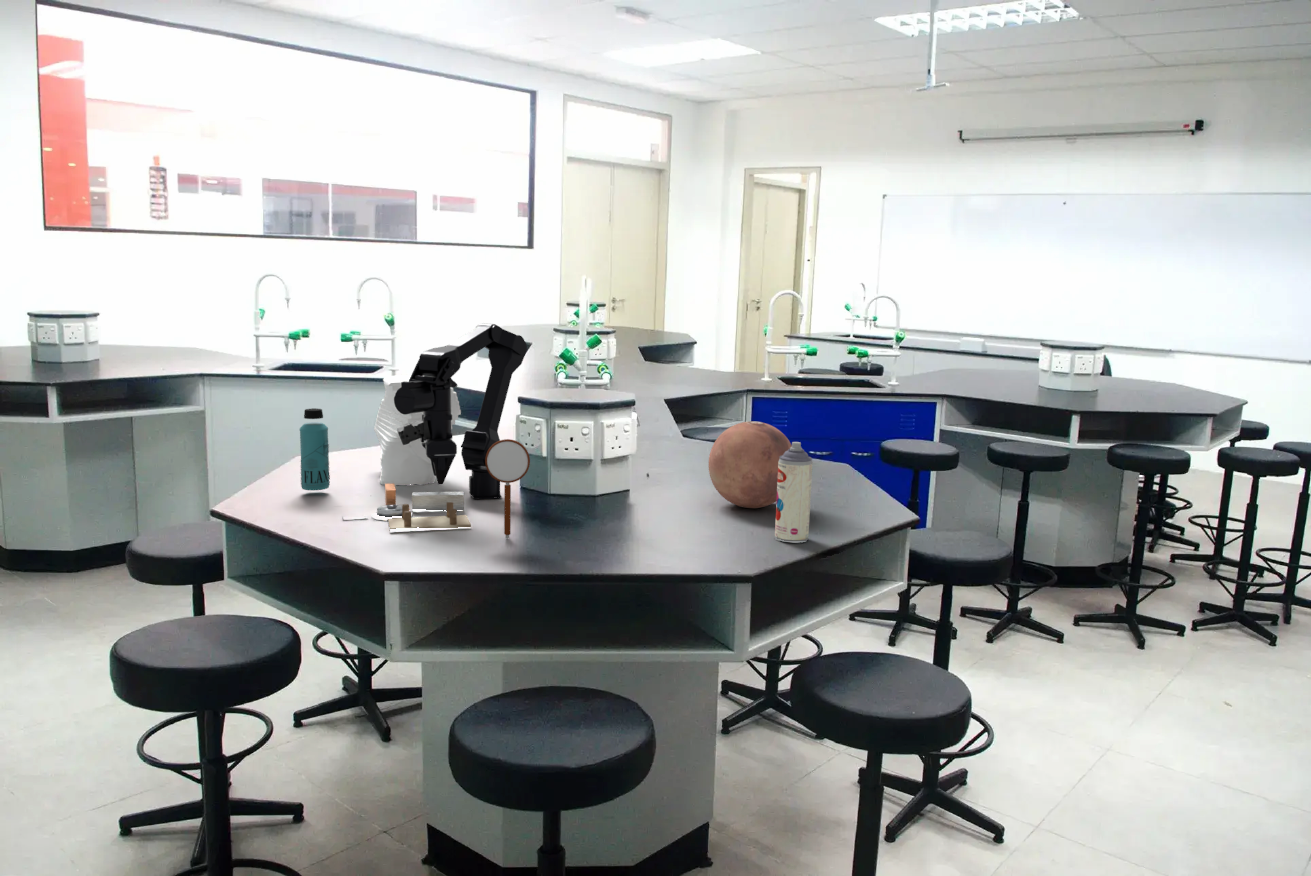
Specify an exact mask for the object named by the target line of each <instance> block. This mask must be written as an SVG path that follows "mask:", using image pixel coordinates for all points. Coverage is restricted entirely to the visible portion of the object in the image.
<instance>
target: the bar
mask: <svg viewBox="0 0 1311 876" xmlns="http://www.w3.org/2000/svg"><path fill="white" fill-rule="evenodd" d="M464 493H465V491H428V492H427V491H423V492H422V491H421V492H420V491H419V492H418V491H415V492H413V491H412V494H411V510H412V509H426V510H443V511H444V510H446V511H447V502H453V509H456V510H464V511H465V505H464V504H465V502H464V501H465V498H464V497H465V496H464V495H465V494H464Z"/></svg>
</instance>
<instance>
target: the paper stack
mask: <svg viewBox="0 0 1311 876" xmlns="http://www.w3.org/2000/svg"><path fill="white" fill-rule="evenodd" d="M411 375H412V374H411ZM411 375H410V374H409V375H408V374H406V375H402V374H401V375H390V376H385V377H384V378H382V382H383V386H384V389H385V391H384V396H383V398H382V399H381V401H380V402H381V403H380V404H379V408H378V411H377V415H376V420H375V424H374V427H373V428H374V433H375V434H376V437H377V439H378V443H379V446H380V466H381V469H380V471H381V472H380V477H379V484H380V485H383V484H391V483H394V485H395V486H396V485H407V486H414V485H413V484H424V485H428V483H429V484H434V483H436V482H435V481H437V478H436V476H434V473H433V469H432V464H431V460H430V458H428V457H427V455H426V449H425V448H424V447H423V446H422V444H421V443H425V440H424V442H421V441H420V438H419V439H417V440H414V441H411V442H410V443H409V444H406V445H403V444H402V441H401V439H400V437H399V434H398V432H397V429H398V428H400V427H403V426H404V425H408V424H409V423H413V422H417V421H420V420H422V414H423V413H424V412H418V413H412V414H406V415H405V414H402V413H400V412H399V411H398V410H397V409H396V407H395V404H394V397H395V394H396V392H397V390H398V389H399V388H401V382H403V381H409V379H410V377H411ZM461 413H462V410H461V406H460V401H459V399H458V395H457V392H456V391H454V387H453V388H451V414H452V420H451V430H453V425H456V421H458V420H459V415H460V416H461V415H462V414H461ZM433 482H434V483H433ZM410 484H411V485H410Z"/></svg>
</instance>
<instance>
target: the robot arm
mask: <svg viewBox="0 0 1311 876" xmlns="http://www.w3.org/2000/svg"><path fill="white" fill-rule="evenodd" d="M527 347H528V344H527V341H525V339H524V337H523V336H522V335H519V334H515V333H514V332H511V331H509V330H506V329H503V328H502V327H500V326H499V325H497V324H495V323H484V322H483V323H479V324H477V325H476V326H475V328H474V329H471V330H470V331H468V332H467V333H465V334H463V335H462V336H460V337H458V338H457V339H455V340H454V341H452V342H451V343H449V344H447V345H444V346H439V347H434V348H430V349H426V350H424V351H423V352H422V353H420V354H419V359H418V360H417V363H416V365H415V367H414V369H413V371H412V373H411V377H410V379H409V381H403V382H401V388H399V389H398V390H397V392H396V394H395V397H394V404H395V407H396V409H397V410H398V411H399V412H400V413H402V414H405V415H406V414H412V413H418V412H424V413H423V414H422V420H420V421H417V422H413V423H409V424H408V425H404V426H403V427H400V428H398V429H397V432H398V434H399V437H400V439H401V441H402V444H403V445H406V444H409V443H410V442H411V441H414V440H417V439H419V438H420V441H421V442H424V440H425V443H421V444H422V446H423V447H424V448H425V449H426V455H427V457H428V458H430V460H431V464H432V469H433V473H434V476H436V482H437V485H440V486H441V485H444V484H445V483H444V482H445V481H446V479H447V476H448V473H449V471H450V469H451V466H452V464H453V462H454V459H455V458H456V455H457V454H458V453H457V452H458V447H457V445H458V444H457V443H456V442H455V441H454V440H453V433H452V429H451V420H452V414H451V388H453V389H454V388H457V387H458V383H456V381H455V380H453V379H452V377H453V376H454V375H456V373H458V371H459V370H460V369H461V365H462V363H463V362H464V361H465V360H467V359H469V358H470V357H472V356H473V355H475V354H476V353H478V352H480V351H481V350H482V349H484V348H486V350H488V355H487V356H488V360H489V363H490V366H491V369H490V372H489V377H488V381H487V384H486V388H485V393H484V396H483V400H482V403H481V406H480V411H479V415H478V419H477V423H476V425H475V427H473V429H472V430H465V433H464V436H463V441H462V442H461V445H460V448H461V458H462V461H463V464H464V469H465V470H467V471H471V475H470V476H468V477H469V479H468V487H469V488H468V490H469V491H468V494H469V495H470V496H471V497H472V499H473V500H487V499H488V500H489V499H502V495H501V482H500V481H498V480H496V479H494V478H493V477H492V476H491V475H490V474H489V472H488V470H487V468H486V464H485V458H486V454H487V451H488V450H489V448H490V447H491V446H492V445H493V444H494V443H496V442H498V441H500V440H501V439H500V436H499V433H498V430H499V427H500V424H501V418H502V414H503V411H504V407H505V403H506V399H507V396H508V393H509V387H510V385H511V384H510V383H511V381H512V375H513V373H515V371H516V370H518V368H519V367H520V366H521V365H522V364H523V361H524V358H525V356H526V353H527V349H528V348H527Z"/></svg>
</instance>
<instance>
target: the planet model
mask: <svg viewBox="0 0 1311 876" xmlns="http://www.w3.org/2000/svg"><path fill="white" fill-rule="evenodd" d="M790 447H792V442H790V440H789V439H788V437H787V436H786V434H784V433H783V432H782V431H781V430H780V429H778V428H777V427H775V426H773V425H771V424H769V423H765V422H762V421H754V420H753V421H750V420H749V421H744V422H738V423H736V424H733V425H731V426H730V427H727V428H726V429H725V430H724V431H723V432H722V433H720V434H719V435H718V437H717V438H716V440H714V443H713V445H712V447H711V449H710V453H709V456H708V472H709V478H710V481H711V482H712V485H713V487H714V489H715V490H716V491H717V492H718V494H720V496H721V497H722V498H723V499H724V500H726V501H727V502H729V503H731V504H733V505H735V506H737V507H740V508H746V509H760V508H764V507H768V506H769V505H772V504H774V503H776V501H777V481H778V462H779V459H780V458H779V457H780V456H782V455H784V453H785V452H786V451H788V449H790Z"/></svg>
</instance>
